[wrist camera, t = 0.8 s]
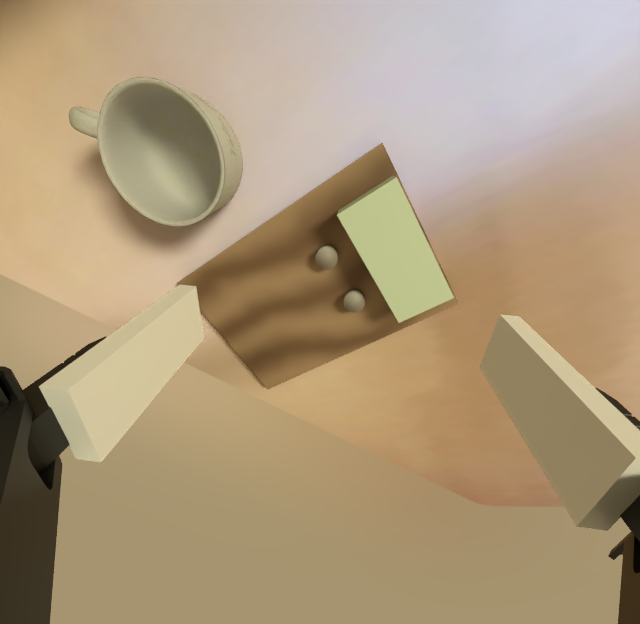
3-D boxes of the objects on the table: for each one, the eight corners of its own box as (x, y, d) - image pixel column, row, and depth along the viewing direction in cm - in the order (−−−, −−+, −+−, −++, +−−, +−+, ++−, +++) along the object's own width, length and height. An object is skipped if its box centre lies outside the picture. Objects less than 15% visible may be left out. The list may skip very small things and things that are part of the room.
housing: (338, 209, 30) (336, 214, 27) (391, 175, 28) (396, 177, 25) (394, 308, 35) (398, 323, 31) (444, 284, 33) (454, 297, 29)
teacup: (271, 144, 29) (245, 137, 22) (226, 233, 34) (193, 251, 27) (143, 49, 27) (68, 7, 20) (114, 158, 32) (44, 156, 25)
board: (182, 279, 37) (170, 287, 35) (381, 143, 28) (383, 141, 26) (269, 384, 44) (264, 396, 41) (455, 299, 35) (462, 309, 32)
